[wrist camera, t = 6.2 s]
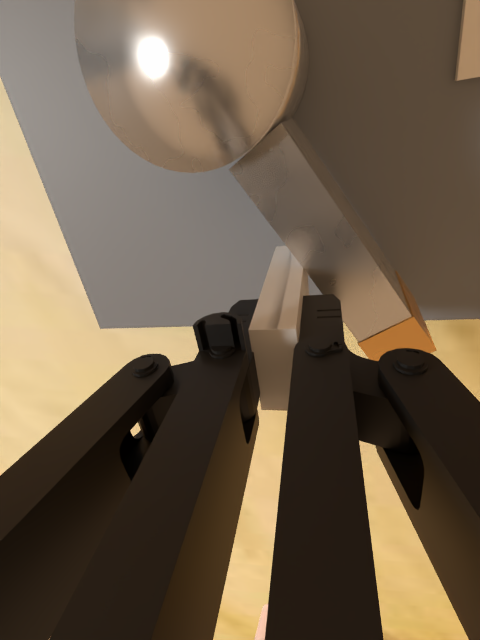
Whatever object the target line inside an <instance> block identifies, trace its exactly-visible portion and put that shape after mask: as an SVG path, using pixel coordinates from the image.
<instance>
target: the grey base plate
mask: <svg viewBox="0 0 480 640" xmlns="http://www.w3.org/2000/svg"><path fill="white" fill-rule="evenodd" d="M294 1H295V3H296V6H297V9H298V12H299V14H300V17H301V20H302V22H303V25H304V29H305V33H306V37H307V43H308V52H309V65H308V75H307V81H306V85H305V89H304V93H303V96H302V99H301V101H300V103H299V105H298V108H297V110H296V111H295V113H294V115H293V117H292V118H291V119H293V118H294V120H295V121H296V123H297V124H298V126H299V127H300V129H301V130H302V132H303V133H304V135H305V136H306V138H307V139H308V141H309V142H310V144H311V145H312V147H313V148H314V150H315V151H316V153H317V154H318V156H319V157H320V159H321V160H322V162H323V163H324V165H325V166H326V168H327V169H328V171H329V172H330V174H331V175H332V177H333V178H334V180H335V181H336V183H337V184H338V186H339V187H340V189H341V190H342V192H343V193H344V195H345V197H346V198H347V200H348V201H349V203H350V204H351V206H352V207H353V209H354V210H355V212H356V213H357V215H358V216H359V218H360V219H361V221H362V222H363V224H364V225H365V227H366V228H367V230H368V231H369V233H370V234H371V236H372V237H373V239H374V240H375V242H376V243H377V245H378V246H379V248H380V249H381V251H382V252H383V254H384V255H385V257H386V258H387V260H388V261H389V263H390V264H391V266H392V267H393V269H394V270H395V271H397V272H398V274H399V275H400V277H401V278H402V280H403V281H404V283H405V284H406V286H407V287H408V289H409V290H410V292H411V293H412V295H413V296H414V298H415V300H416V303H417V305H418V307H419V310H420V312H421V315H422V317H423V319H424V320H454V319H480V0H294ZM74 4H75V0H0V77H1V79H2V82H3V84H4V87H5V89H6V92H7V94H8V97H9V99H10V102H11V105H12V107H13V110H14V112H15V115H16V117H17V120H18V122H19V125H20V127H21V130H22V132H23V135H24V137H25V140H26V142H27V145H28V147H29V150H30V152H31V155H32V157H33V160H34V163H35V165H36V168H37V170H38V173H39V175H40V178H41V180H42V183H43V185H44V188H45V190H46V193H47V195H48V198H49V200H50V203H51V205H52V208H53V210H54V213H55V215H56V218H57V220H58V223H59V226H60V228H61V231H62V233H63V236H64V238H65V241H66V243H67V246H68V248H69V251H70V253H71V256H72V258H73V261H74V263H75V266H76V268H77V271H78V273H79V276H80V278H81V281H82V284H83V286H84V289H85V291H86V294H87V296H88V299H89V301H90V304H91V306H92V309H93V311H94V314H95V316H96V319H97V321H98V324H99V326H100V329H104V328H143V327H182V326H193V324H194V323H195V322H196V321H197V320H199V319H201V318H202V317H204V316H207V315H210V314H213V313H220V312H229V310H230V308H231V307H232V306H233V305H234V304H235V303H237V302H238V301H239V300H251V299H259V297H260V293H261V290H262V287H263V284H264V281H265V278H266V275H267V272H268V269H269V266H270V263H271V260H272V257H273V254H274V251H275V248H276V247H277V246H286V245H285V243H284V242H283V241H282V240H281V238H280V237H279V236H278V234H277V233H276V232H275V230H274V229H273V228H272V226H271V225H270V224H269V222H268V221H267V220H266V218H265V217H264V216H263V214H262V213H261V212H260V210H259V209H258V208H257V206H256V205H255V204H254V202H253V201H252V200H251V198H250V197H249V196H248V194H247V193H246V192H245V190H244V189H243V188H242V186H241V185H240V184H239V182H238V181H237V180H236V178H235V177H234V176H233V174H232V173H231V172H230V170H229V169H230V168H231V167H232V166H234V165H235V164H236V163H237V162H238V161H239V160H240V159H241V158H242V157H243V156H242V157H240V158H238V159H237V160H235V161H233V162H231V163H229V164H228V165H225V166H223V167H220V168H218V169H214V170H210V171H206V172H197V173H185V172H176V171H172V170H167V169H164V168H162V167H159V166H156V165H154V164H152V163H150V162H148V161H146V160H144V159H143V158H141V157H140V156H138V155H137V154H135V153H134V152H133V151H131V150H130V149H129V148H128V147H127V146H126V145H125V144H123V143H122V142H121V141H120V139H119V138H118V137H117V136H116V135H115V134H114V133H113V132H112V130H111V129H110V128H109V126H108V125H107V124H106V122H105V121H104V120H103V118H102V116H101V115H100V113H99V111H98V110H97V108H96V106H95V104H94V102H93V100H92V98H91V96H90V94H89V91H88V89H87V86H86V83H85V81H84V78H83V75H82V71H81V67H80V63H79V60H78V54H77V48H76V42H75V29H74ZM245 155H246V154H245ZM245 155H244V156H245ZM308 286H309V295H323V294H322V293H321V291H320V290H319V289H318V287H317V286H316V285H315V283H314V282H313V281H312V279H311V278H310V277H309V275H308ZM342 322H343V320H342Z"/></svg>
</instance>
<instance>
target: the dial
mask: <svg viewBox="0 0 480 640" xmlns="http://www.w3.org/2000/svg"><path fill="white" fill-rule="evenodd" d="M74 29H75V42H76V48H77V54H78V60H79V63H80V67H81V71H82V75H83V78H84V81H85V83H86V86H87V89H88V91H89V94H90V96H91V98H92V100H93V102H94V104H95V106H96V108H97V110H98V111H99V113H100V115H101V116H102V118H103V120H104V121H105V122H106V124H107V125H108V126H109V128H110V129H111V130H112V132H113V133H114V134H115V135H116V136H117V137H118V138H119V139H120V141H121V142H122V143H123V144H125V145H126V146H127V147H128V148H129V149H130V150H131V151H133V152H134V153H135V154H137V155H138V156H140V157H141V158H143V159H144V160H146V161H148V162H150V163H152V164H154V165H156V166H159V167H162V168H164V169H167V170H172V171H176V172H185V173H197V172H206V171H210V170H214V169H218V168H220V167H223V166H225V165H228V164H229V163H231V162H233V161H235V160H237V159H238V158H240V157H242V156H243V157H242V158H241V159H240V160H239V161H238V162H237V163H236V164H235V165H234V166H232V167H231V168H230V169H229V170H230V172H231V173H232V174H233V176H234V177H235V178H236V180H237V181H238V182H239V184H240V185H241V186H242V188H243V189H244V190H245V192H246V193H247V194H248V196H249V197H250V198H251V200H252V201H253V202H254V204H255V205H256V206H257V208H258V209H259V210H260V212H261V213H262V214H263V216H264V217H265V218H266V220H267V221H268V222H269V224H270V225H271V226H272V228H273V229H274V230H275V232H276V233H277V234H278V236H279V237H280V238H281V240H282V241H283V242H284V243H285V245H286V246H287V247H288V249H289V250H290V251H291V253H292V254H293V255H294V257H295V258H296V259H297V261H298V262H299V263H300V265H301V266H302V267H303V269H304V270H305V271H306V273H307V274H308V275H309V277H310V278H311V279H312V281H313V282H314V283H315V285H316V286H317V287H318V289H319V290H320V291H321V293H322V294H323V295H325V294H334V295H335V296H336V297H337V298H338V299H339V300H340V301H341V311H342V320H343V322H344V323H345V324H346V326H347V327H348V328H349V330H350V331H351V332H352V334H353V335H354V336H355V338H356V339H357V340H358V345H359V346H360V347H361V349H362V350H363V351H364V353H365V354H366V355H367V357H368V358H369V359H370V360H375V361H379V359H380V357H381V356H382V355H383V354H384V353H386V352H387V351H390V350H394V349H397V348H413V349H419V350H423V351H425V352H428V353H431V352H434V351H436V348H435V345H434V343H433V341H432V338H431V336H430V333H429V331H428V329H427V326H426V324H425V322H424V319H423V317H422V315H421V312H420V310H419V307H418V305H417V303H416V300H415V298H414V296H413V295H412V293H411V292H410V290H409V289H408V287H407V286H406V284H405V283H404V281H403V280H402V278H401V277H400V275H399V274H398V272H397V271H395V270H394V269H393V267H392V266H391V264H390V263H389V261H388V260H387V258H386V257H385V255H384V254H383V252H382V251H381V249H380V248H379V246H378V245H377V243H376V242H375V240H374V239H373V237H372V236H371V234H370V233H369V231H368V230H367V228H366V227H365V225H364V224H363V222H362V221H361V219H360V218H359V216H358V215H357V213H356V212H355V210H354V209H353V207H352V206H351V204H350V203H349V201H348V200H347V198H346V197H345V195H344V193H343V192H342V190H341V189H340V187H339V186H338V184H337V183H336V181H335V180H334V178H333V177H332V175H331V174H330V172H329V171H328V169H327V168H326V166H325V165H324V163H323V162H322V160H321V159H320V157H319V156H318V154H317V153H316V151H315V150H314V148H313V147H312V145H311V144H310V142H309V141H308V139H307V138H306V136H305V135H304V133H303V132H302V130H301V129H300V127H299V126H298V124H297V123H296V121H295V120H294V118H293V119H291V118H292V117H293V115H294V113H295V111H296V110H297V108H298V105H299V103H300V101H301V99H302V96H303V93H304V89H305V85H306V81H307V75H308V65H309V52H308V43H307V37H306V33H305V29H304V25H303V22H302V20H301V17H300V14H299V12H298V9H297V6H296V3H295V1H294V0H75V4H74ZM245 154H246V155H245ZM244 155H245V156H244Z"/></svg>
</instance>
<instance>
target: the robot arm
mask: <svg viewBox="0 0 480 640" xmlns="http://www.w3.org/2000/svg"><path fill="white" fill-rule="evenodd" d="M193 329H194V332H195V336H196V340H197V344H198V348H199V352H198V354H197V356H196V358H195V360H194V361H191V362H188V363H183V364H179V365H174V366H171V364H170V361H169V359H168V358H167V357H166V356H164V355H161V354H147V355H143V356H140V357H138V358H136V359H134V360H132V361H131V362H129V363H128V364H126V365H125V366H124V367H123V368H122V369H121V370H120V371H118V372H117V373H116V374H115V375H114V376H113V377H112V378H111V379H109V380H108V381H107V382H106V383H105V384H104V385H103V386H101V387H100V388H99V389H98V390H97V391H96V392H95V393H94V394H92V395H91V396H90V397H89V398H88V399H87V400H86V401H84V402H83V403H82V404H81V405H80V406H79V407H78V408H77V409H75V410H74V411H73V412H72V413H71V414H70V415H69V416H67V417H66V418H65V419H64V420H63V421H62V422H61V423H60V424H58V425H57V426H56V427H55V428H54V429H53V430H52V431H50V432H49V433H48V434H47V435H46V436H45V437H44V438H43V439H41V440H40V441H39V442H38V443H37V444H36V445H35V446H33V447H32V448H31V449H30V450H29V451H28V452H27V453H26V454H24V455H23V456H22V457H21V458H20V459H19V460H18V461H16V462H15V463H14V464H13V465H12V466H11V467H10V468H9V469H7V470H6V471H5V472H4V473H3V474H2V475H1V476H0V640H48V639H49V638H50V639H49V640H213V637H214V632H215V627H216V623H217V618H218V613H219V609H220V604H221V599H222V594H223V590H224V585H225V580H226V576H227V571H228V566H229V562H230V557H231V552H232V548H233V543H234V538H235V534H236V529H237V524H238V519H239V515H240V510H241V505H242V501H243V496H244V491H245V487H246V482H247V477H248V473H249V468H250V463H251V459H252V454H253V449H254V444H255V440H256V435H257V430H258V426H259V416H258V411H257V406H258V401H259V397H260V403H261V409H262V410H288V412H287V422H286V432H285V442H284V452H283V462H282V472H281V482H280V492H279V502H278V512H277V522H276V532H275V542H274V552H273V562H272V572H271V582H270V592H269V602H268V612H267V622H266V632H265V640H383V633H382V625H381V617H380V608H379V600H378V592H377V584H376V576H375V568H374V559H373V551H372V543H371V535H370V527H369V519H368V511H367V502H366V494H365V486H364V478H363V470H362V462H361V454H360V445H359V440H360V441H363V442H367V443H370V444H373V445H376V449H377V453H378V455H379V457H380V459H381V461H382V463H383V465H384V467H385V469H386V471H387V473H388V475H389V477H390V479H391V481H392V483H393V485H394V487H395V489H396V491H397V493H398V495H399V497H400V500H401V502H402V504H403V506H404V508H405V510H406V512H407V514H408V516H409V518H410V520H411V522H412V524H413V526H414V528H415V530H416V532H417V534H418V536H419V538H420V540H421V542H422V544H423V547H424V549H425V551H426V553H427V555H428V557H429V559H430V561H431V563H432V565H433V567H434V569H435V571H436V573H437V575H438V577H439V579H440V581H441V583H442V585H443V587H444V589H445V591H446V594H447V596H448V598H449V600H450V602H451V604H452V606H453V608H454V610H455V612H456V614H457V616H458V618H459V620H460V622H461V624H462V626H463V628H464V630H465V632H466V634H467V636H468V638H469V640H480V402H479V401H478V400H477V399H476V397H475V396H474V395H473V394H472V393H471V392H470V391H469V390H468V389H467V388H466V387H465V386H464V385H463V384H462V383H461V382H460V381H459V380H458V378H457V377H456V376H455V375H454V374H453V373H452V372H451V371H450V370H449V369H448V368H447V367H446V366H445V365H444V364H443V363H442V362H441V361H440V360H439V359H438V358H437V357H435V356H434V355H432V354H430V353H428V352H425V351H423V350H419V349H413V348H397V349H394V350H390V351H387V352H386V353H384V354H383V355H382V356H381V357H380V359H379V361H375V360H370V359H366V358H362V357H360V356H357V355H355V354H353V353H352V352H351V351H349V350H348V348H347V346H346V344H345V342H344V332H343V322H342V311H341V301H340V300H339V299H338V298H337V297H336V296H335V295H334V294H325V295H309V286H308V274H307V273H306V271H305V270H304V269H303V267H302V266H301V265H300V263H299V262H298V261H297V259H296V258H295V257H294V255H293V254H292V253H291V251H290V250H289V249H288V247H287V246H277V247H276V248H275V251H274V254H273V257H272V260H271V263H270V266H269V269H268V272H267V275H266V278H265V281H264V284H263V287H262V290H261V293H260V297H259V299H251V300H239V301H238V302H237V303H235V304H234V305H233V306H232V307H231V308H230V310H229V312H220V313H213V314H210V315H207V316H204V317H202V318H201V319H199V320H197V321H196V322H195V323H194V324H193ZM137 422H138V423H139V426H140V429H141V430H140V432H139V433H138V434H136V435H135V436H134V437H133V436H132V434H131V431H130V430H131V429H132V428H133V427H134V426H135V424H136V423H137Z"/></svg>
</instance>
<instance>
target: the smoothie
mask: <svg viewBox="0 0 480 640" xmlns="http://www.w3.org/2000/svg"><path fill="white" fill-rule="evenodd" d="M267 612H268V604H265V605H264V606H263V607H262V611H261V615H260V619H259V623H258V627H257V631H256V635H255V639H254V640H265V632H266V622H267Z"/></svg>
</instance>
